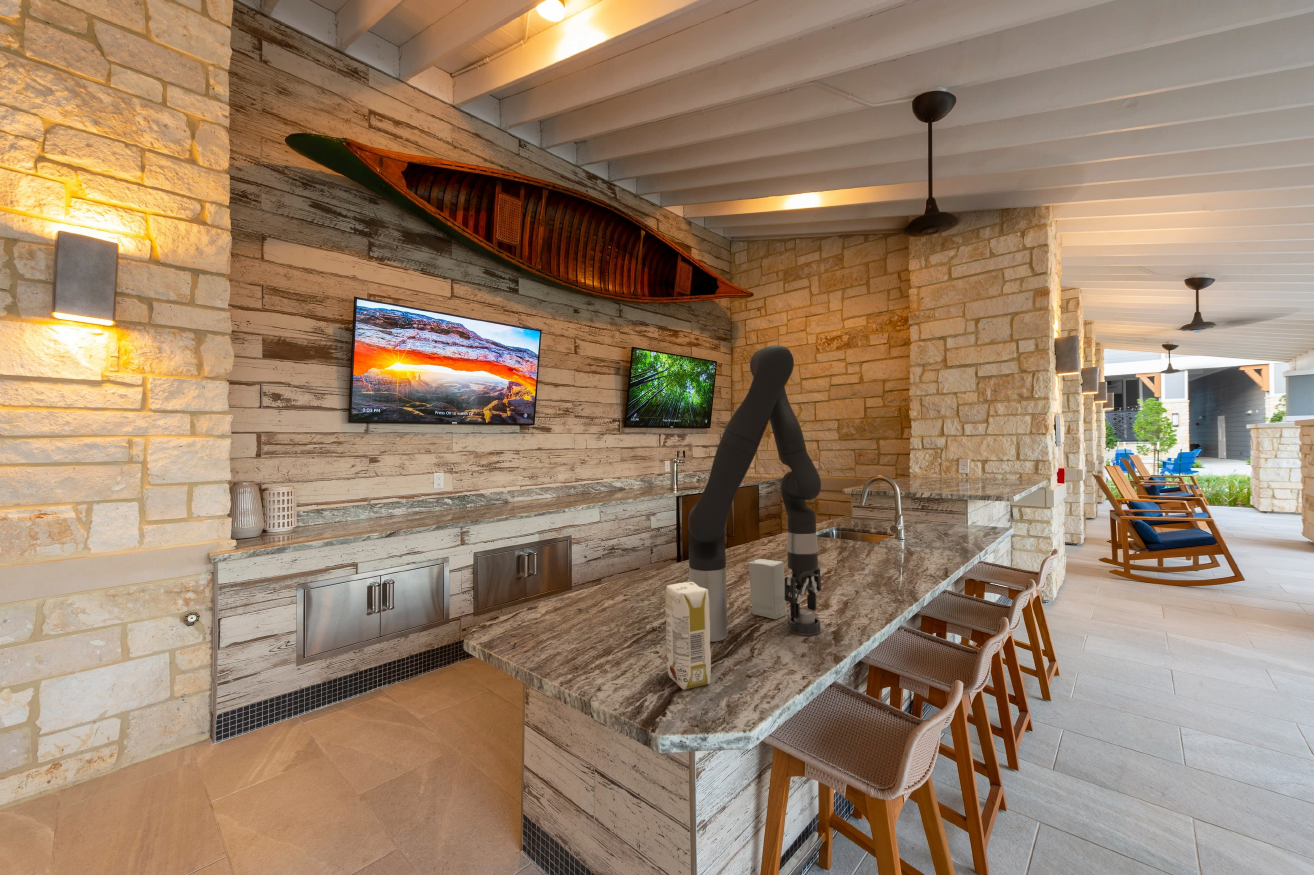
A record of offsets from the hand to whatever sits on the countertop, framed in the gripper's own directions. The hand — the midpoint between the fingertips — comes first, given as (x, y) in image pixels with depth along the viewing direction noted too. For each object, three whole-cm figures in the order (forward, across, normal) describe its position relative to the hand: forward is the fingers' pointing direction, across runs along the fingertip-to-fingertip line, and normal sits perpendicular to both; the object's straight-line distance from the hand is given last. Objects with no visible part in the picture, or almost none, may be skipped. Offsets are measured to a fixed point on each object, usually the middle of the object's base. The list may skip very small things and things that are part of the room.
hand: (803, 613), depth 133 cm
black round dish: (+4, 0, 0) cm, 4 cm away
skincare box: (+4, +4, +14) cm, 15 cm away
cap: (+4, 0, 0) cm, 4 cm away
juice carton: (+4, -40, +4) cm, 41 cm away
